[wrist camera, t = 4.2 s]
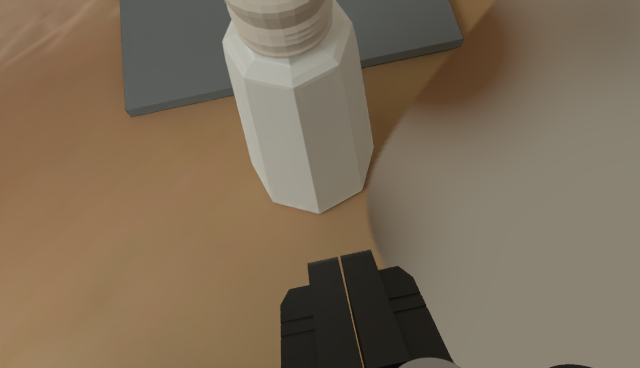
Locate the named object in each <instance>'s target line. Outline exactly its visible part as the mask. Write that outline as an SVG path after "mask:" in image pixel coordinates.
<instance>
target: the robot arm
mask: <svg viewBox="0 0 640 368" xmlns="http://www.w3.org/2000/svg"><path fill="white" fill-rule="evenodd" d="M340 257H341V262H342V267H343V272H344V277H345V282H346V286H347V291H348V296H349V301H350V306H351V310H352V315H353V320H354V324H355V329H356V333H357V338H358V342H359V347H360V351H361V355H362V360H363V364H364V368H460V367H459V366H457V365H456V364H455V363H454V362H453V360H452V359H451V357H450V355H449V353H448V350H447V348H446V346H445V344H444V342H443V340H442V338H441V336H440V334H439V332H438V329H437V327H436V325H435V323H434V321H433V319H432V316H431V314H430V312H429V310H428V309H427V307H426V304H425V302H424V299H423V297H422V295H421V294H420V291H419V289H418V287H417V285H416V283H415V280H414V278H413V277H412V276H411V275H410V274H408V273H407V272H405V271H404V270H403V269H401V268H400V267H398V266H396V267H391V268H386V269H382V270H378V269H377V266H376V263H375V260H374V257H373V255H372V252H371V250H367V251H362V252H357V253H353V254H348V255H343V256H340ZM308 274H309V283H310V285H308V286H303V287H298V288H294V289H289V291H288V293H287V294H286V296H285V298H284V300H283V302H282V304H281V305H280V311H281V368H363V367H362V363H361V358H360V354H359V349H358V345H357V340H356V336H355V332H354V327H353V323H352V318H351V314H350V309H349V305H348V301H347V296H346V292H345V287H344V283H343V278H342V274H341V270H340V265H339V261H338V257H334V258H330V259H325V260H320V261H316V262H311V263H308ZM550 368H591V367H587V366H582V365H574V364H570V365H569V364H565V365H557V366H553V367H550Z"/></svg>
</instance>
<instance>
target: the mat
mask: <svg viewBox="0 0 640 368" xmlns="http://www.w3.org/2000/svg"><path fill="white" fill-rule="evenodd" d="M336 1H337V3H338V4H339V5H340V7H341V8H342V9H343V11H344V12H345V14H346V15H347V16H348V18H349V19H350V20H351V22H352V23H353V27H354V31H355V35H356V39H357V45H358V51H359V57H360V63H361V68H363V67H368V66H373V65H377V64H382V63H387V62H391V61H396V60H401V59H406V58H410V57H415V56H420V55H424V54H429V53H434V52H439V51H443V50H448V49H453V48H457V47H461V45H462V42H463V36H462V33H461V31H460V28H459V26H458V23H457V21H456V18H455V15H454V13H453V10H452V8H451V5H450V3H449V0H336ZM120 16H121V36H122V55H123V74H124V93H125V110H126V112H127V113H128V114H129V115H130V116H131V117H133V116H137V115H142V114H147V113H151V112H156V111H161V110H166V109H170V108H175V107H180V106H184V105H189V104H194V103H199V102H203V101H208V100H213V99H217V98H222V97H227V96H231V95H234V92H233V88H232V84H231V80H230V76H229V72H228V68H227V64H226V60H225V55H224V49H223V43H222V41H223V38H224V36H225V34H226V31H227V29H228V27H229V24H230V22H231V20H232V19H231V17H230V14H229V12H228V9H227V4H226V3H225V1H224V0H120Z"/></svg>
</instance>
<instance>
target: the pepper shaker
mask: <svg viewBox="0 0 640 368" xmlns="http://www.w3.org/2000/svg"><path fill="white" fill-rule="evenodd" d="M224 1H225V3H226V4H227V9H228V12H229V14H230V17H231V19H232V20H231V22H230V24H229V27H228V29H227V31H226V34H225V36H224V38H223V41H222V43H223V49H224V55H225V60H226V64H227V68H228V72H229V76H230V80H231V84H232V88H233V92H234V95H235V99H236V103H237V107H238V111H239V115H240V119H241V123H242V127H243V131H244V135H245V139H246V142H247V146H248V150H249V154H250V158H251V162H252V165H253V167H254V168H255V170H256V172H257V174H258V176H259V178H260V179H261V181H262V183H263V185H264V187H265V189H266V190H267V192H268V194H269V196H270V198H271V199H272V201H273V202H274V203H278V204H282V205H286V206H290V207H294V208H298V209H302V210H306V211H310V212H314V213H318V214H321V213H322V212H324V211H326V210H328V209H330V208H331V207H333V206H335V205H337V204H339V203H340V202H342V201H344V200H346V199H348V198H350V197H351V196H353V195H355V194H357V193H359V192H360V191H362V190H363V186H364V183H365V179H366V175H367V171H368V168H369V164H370V160H371V157H372V153H373V149H374V144H373V138H372V132H371V126H370V119H369V113H368V107H367V101H366V95H365V88H364V82H363V76H362V70H361V63H360V57H359V51H358V45H357V39H356V35H355V31H354V27H353V23H352V22H351V20H350V19H349V18H348V16H347V15H346V14H345V12H344V11H343V9H342V8H341V7H340V5H339V4H338V3H337V1H336V0H224Z"/></svg>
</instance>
